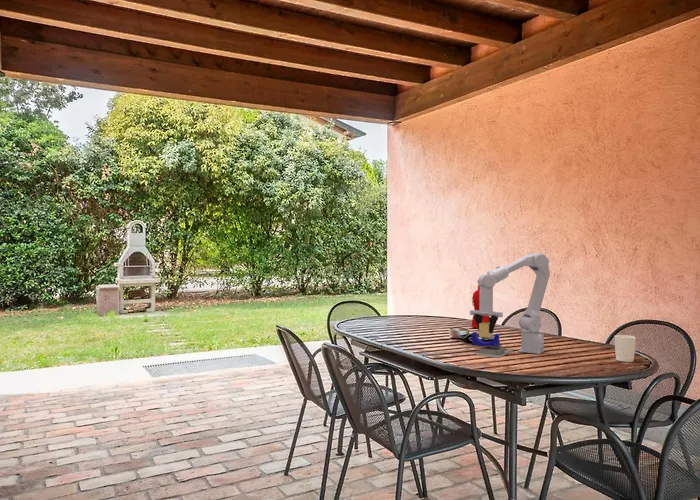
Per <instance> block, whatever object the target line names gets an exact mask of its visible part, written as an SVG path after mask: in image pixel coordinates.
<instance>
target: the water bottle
mask: <svg viewBox="0 0 700 500" xmlns="http://www.w3.org/2000/svg"><path fill="white" fill-rule="evenodd" d="M471 299H472V302H471V304H472V307H473V310H478V311H479V304H480V286H479V284H478V285H477V290H475V291H474V292H473V293H472V298H471ZM484 315H490V314H484ZM474 316H475V315H472V319H471V327H472V329H477V330H478V326H477V323H476V321H475V319H474ZM489 317H490V316H483V319H482V322H489V323H490V321H489Z"/></svg>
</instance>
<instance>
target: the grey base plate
mask: <svg viewBox="0 0 700 500" xmlns="http://www.w3.org/2000/svg"><path fill="white" fill-rule="evenodd" d="M510 353H514V349H513V348H506V347H504V346H503V347H500V346H499V347H494V346H480V347H479V348H478V351H477V352H476V356H480V355H481V356H482V357H489V358H497V359H500V358H503V357H504V356H506V355H508V354H510Z"/></svg>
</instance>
